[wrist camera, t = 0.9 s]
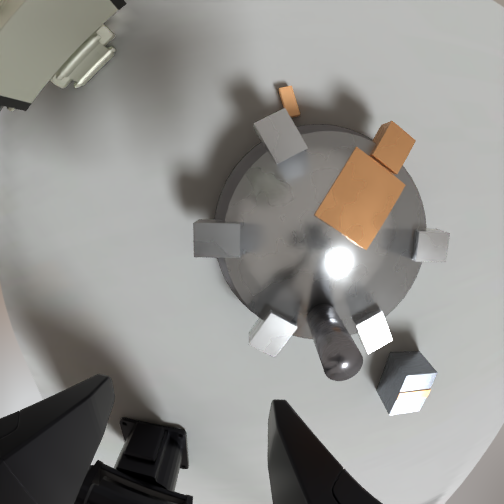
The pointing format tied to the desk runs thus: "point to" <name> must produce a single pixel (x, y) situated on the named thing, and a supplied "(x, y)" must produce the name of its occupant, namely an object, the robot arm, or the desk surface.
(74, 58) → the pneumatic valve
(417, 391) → the banded grey cube
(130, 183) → the desk surface
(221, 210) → the plinth
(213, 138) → the desk surface
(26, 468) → the robot arm
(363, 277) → the sprocket
